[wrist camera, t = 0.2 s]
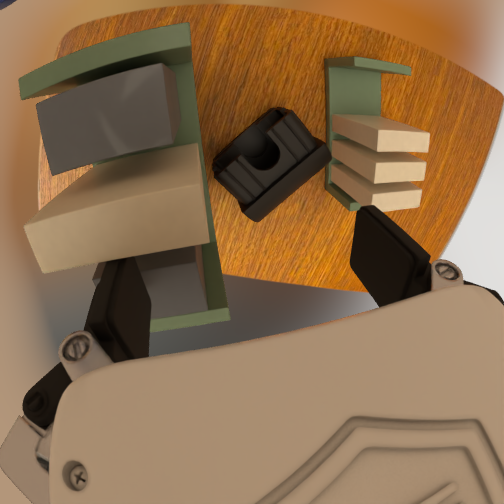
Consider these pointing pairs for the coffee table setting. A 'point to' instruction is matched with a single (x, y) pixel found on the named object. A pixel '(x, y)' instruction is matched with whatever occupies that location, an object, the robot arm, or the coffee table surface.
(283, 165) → the end cap
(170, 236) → the cream book
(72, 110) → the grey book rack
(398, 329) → the robot arm
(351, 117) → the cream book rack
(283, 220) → the coffee table surface
